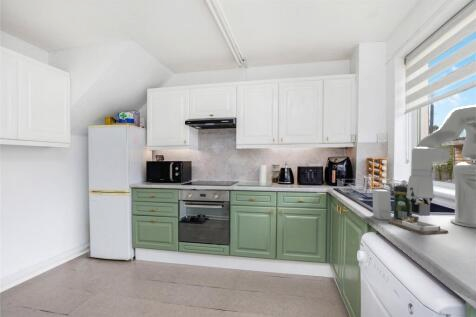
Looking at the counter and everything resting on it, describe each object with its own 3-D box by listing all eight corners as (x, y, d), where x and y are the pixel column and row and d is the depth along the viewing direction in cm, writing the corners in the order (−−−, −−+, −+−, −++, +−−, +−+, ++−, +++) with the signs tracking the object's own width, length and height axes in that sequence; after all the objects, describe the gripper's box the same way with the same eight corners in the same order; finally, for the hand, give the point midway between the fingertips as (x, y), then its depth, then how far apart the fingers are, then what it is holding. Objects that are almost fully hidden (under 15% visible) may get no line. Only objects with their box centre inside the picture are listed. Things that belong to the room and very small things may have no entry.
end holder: (419, 223, 113) (419, 220, 113) (440, 230, 103) (440, 226, 103) (401, 224, 111) (401, 221, 111) (421, 231, 101) (421, 227, 101)
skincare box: (391, 220, 123) (391, 191, 123) (377, 219, 124) (378, 190, 124) (384, 216, 131) (384, 189, 131) (371, 215, 132) (372, 188, 132)
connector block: (419, 212, 110) (419, 200, 110) (429, 215, 105) (430, 203, 105) (410, 213, 109) (410, 201, 109) (420, 215, 104) (421, 203, 104)
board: (411, 221, 121) (411, 214, 120) (448, 232, 103) (448, 225, 103) (388, 222, 118) (388, 215, 118) (422, 234, 100) (422, 226, 100)
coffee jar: (396, 214, 134) (397, 183, 134) (413, 217, 128) (414, 184, 128) (391, 217, 128) (392, 184, 127) (408, 220, 122) (409, 186, 121)
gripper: (428, 173, 112) (427, 210, 112) (398, 172, 109) (397, 210, 109) (444, 174, 105) (443, 213, 105) (413, 174, 102) (412, 214, 102)
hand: (420, 211), depth 107 cm, fingers closed on connector block, 5 cm apart
